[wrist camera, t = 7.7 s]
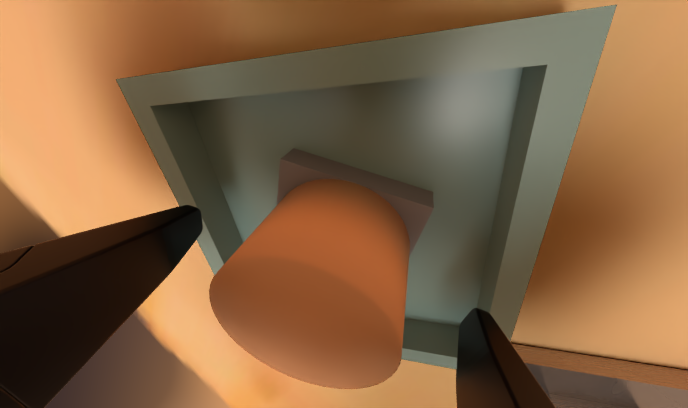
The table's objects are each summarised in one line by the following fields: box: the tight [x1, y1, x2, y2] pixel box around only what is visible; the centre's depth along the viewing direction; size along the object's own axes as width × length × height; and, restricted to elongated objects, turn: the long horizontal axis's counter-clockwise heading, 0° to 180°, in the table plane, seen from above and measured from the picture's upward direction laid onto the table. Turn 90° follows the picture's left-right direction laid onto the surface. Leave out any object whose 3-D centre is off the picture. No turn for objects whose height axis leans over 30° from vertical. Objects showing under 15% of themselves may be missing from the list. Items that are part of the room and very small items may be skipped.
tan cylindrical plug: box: [209, 148, 434, 389], centre depth 8 cm, size 5×5×4 cm
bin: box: [116, 5, 617, 369], centre depth 10 cm, size 12×12×2 cm
